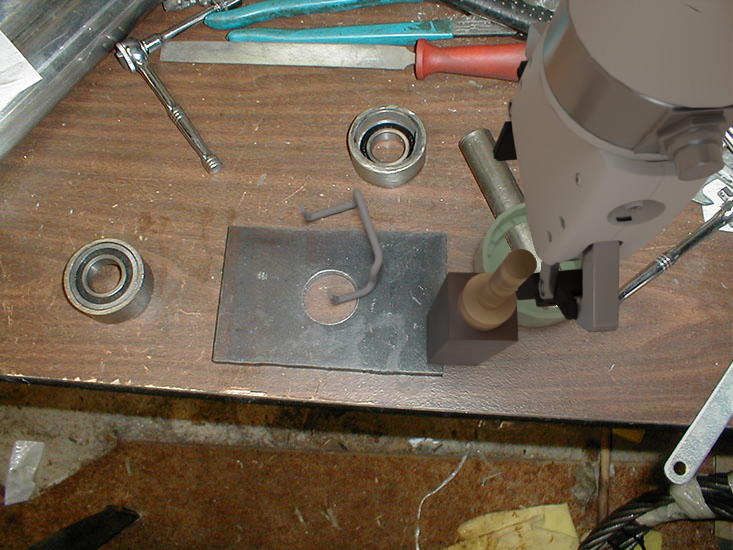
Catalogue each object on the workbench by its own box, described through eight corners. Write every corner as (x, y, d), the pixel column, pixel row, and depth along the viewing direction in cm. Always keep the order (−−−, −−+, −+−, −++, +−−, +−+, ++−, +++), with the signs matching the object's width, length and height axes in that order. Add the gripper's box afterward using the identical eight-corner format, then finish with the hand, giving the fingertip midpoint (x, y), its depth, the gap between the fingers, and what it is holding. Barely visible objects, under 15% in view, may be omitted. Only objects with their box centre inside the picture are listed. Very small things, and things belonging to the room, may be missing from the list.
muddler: (508, 331, 47) (557, 297, 35) (457, 330, 47) (487, 295, 35) (507, 282, 48) (554, 231, 36) (457, 280, 49) (486, 229, 36)
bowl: (591, 329, 67) (611, 320, 62) (474, 325, 68) (484, 316, 62) (582, 220, 71) (601, 202, 65) (472, 217, 71) (481, 199, 66)
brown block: (476, 366, 66) (518, 341, 47) (426, 364, 66) (448, 339, 47) (475, 317, 68) (515, 273, 49) (426, 315, 68) (447, 271, 49)
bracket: (304, 217, 72) (296, 202, 67) (361, 198, 72) (357, 181, 67) (333, 308, 69) (327, 299, 64) (393, 287, 69) (391, 277, 64)
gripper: (839, 270, 17) (612, 348, 34) (700, -146, 22) (560, 101, 38) (600, 291, 17) (489, 359, 34) (512, -131, 22) (453, 110, 38)
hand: (527, 221), depth 36 cm, fingers open, 9 cm apart
